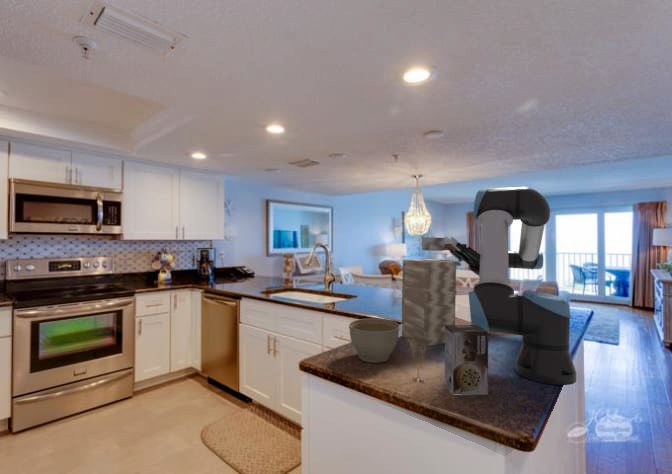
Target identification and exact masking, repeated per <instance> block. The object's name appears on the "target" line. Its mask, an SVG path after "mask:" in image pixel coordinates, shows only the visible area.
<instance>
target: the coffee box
mask: <svg viewBox="0 0 672 474" xmlns="http://www.w3.org/2000/svg"><path fill="white" fill-rule="evenodd" d="M445 385H446V386H445ZM444 386H445V388H446V389H447V388H448V389H449V390H450V391H451V392H450V391H449V390H448V389H447V390H448V391H449V392H450V394H451V393H452V394H469V395H468V396H488V395H489V332H488V331H486V330H484V329H483V328H482V327H480V326H479V325H472V324H455V325H445V343H444ZM452 394H451V395H452Z"/></svg>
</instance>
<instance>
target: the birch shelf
mask: <svg viewBox="0 0 672 474" xmlns="http://www.w3.org/2000/svg"><path fill="white" fill-rule="evenodd" d="M460 265H461V262H460V261H459V260H448V259H438V258H424V259H423V258H422V259H419V258H418V259H402V290H401V291H402V295H401V296H402V297H401V300H402V301H401V337H404V338H406V339H408V340H410V341H412V342H415V343H416V344H417V343H418V344H420V345H422V346H425V347H430V346H436V345H441V344H445V325H456V296H457V295H456V293H457V291H456V288H457V287H456V286H457V285H456V284H457V266H460Z"/></svg>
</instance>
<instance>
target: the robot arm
mask: <svg viewBox="0 0 672 474" xmlns="http://www.w3.org/2000/svg"><path fill="white" fill-rule="evenodd" d="M472 214H473V216H472V217H473V219H474V220H475V221H477V224H478V225H479V226H480V227H481V233H480V234H481V235H480V252H478V251H476V250H474V249H473V248H472V247H470V246H467V245H468V244H467V243H461V242H459V241H458V240H457V239H456V238H455V237H453V236H451V238H448V237H447V236H445V237H444V238H445V243H444V244H451V245H452V246H453V247H454V248H456V249H457V250H448V252H449V253H451V255H452V256H453V257H455V258H456V259H457V261H459V262H460V263H461V262H462V261H463V262H464V263H465V264H466V265H468V266H469V270H470V271H471V272H473V273H474V274H475V275H477V277H478V281H479V282H478V283H476V284H474V286H473V290H472V291H469V292H468V302H469V312H470V320H471V321H470V322H471V325H479V326H480V327H482V328H483V329H484V330H486V331H488V333H496V334H497V333H498V334H505V335H515V336H521V337H522V338H521V339H522V340H521V342H522V343H521V345H520V349H519V351H518V353H517V356H516V358H515V361H514V362H515V363H514V364H515V365H514V369H515V372H516V373H517V374H518V375H520V376H522V377H524V378H526V379H528V380H532V381H535V382H538V383H541V384H546V383H547V385H555V386H570V385H573V384H575V383H576V382H577V371H576V368H575V364H574V362H573V358H572V356H571V353H570V331H571V330H570V327H571V326H570V324H571V323H570V322H571V321H570V318H572V315H571V309H570V308H571V307H570V303H569V301H568V300H567V299H565V298H564V297H562V296H558V295H554V294H550V293H547V292H541V291H534V290H523V292H522V293H521V294H522V295H521V294H519V295H517V294H515V289H514V288H513V286H512V285H510V283H511V282H510V278H509V269H522V270H523V269H524V270H541V269H543V266H544V253H543V252H541V251H540V250H541V246H542V242H543V241H542V239H543V236H544V235H543V234H544V230H545V225H547V224H548V222H549V221H550V218H551V207H550V204H549V203H548V201H547V199H546V198H545V196H544V195H543V194H541V193H540V192H539V191H537V190H536V189H534V188H531V187H527V186H519V187H518V186H517V187H515V186H514V187H513V186H512V187H487V188H481V189H479V190H477V192H476V194H475V199H474V203H473V213H472ZM516 220H517V221H518V220H520V222H521V227H520V239H519V245H518V246H519V247H518V251H517V250H515V251H513V250H509V227H510V226H511V225H512V224H513V222H514V221H516ZM462 244H464V246H463V245H462ZM466 244H467V245H466ZM466 246H467V247H466Z"/></svg>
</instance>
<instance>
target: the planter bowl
mask: <svg viewBox="0 0 672 474" xmlns="http://www.w3.org/2000/svg"><path fill="white" fill-rule="evenodd" d="M400 326H401V325H400V324H399V323H398V322H396V321H392V320H388V319H380V318H362V319H361V318H360V319H356V320H353V321H351V322H349V323H348V328H349V336H350V341H351V344H352V346H353V348H354V350H355V351H356V352H357V354H358V358H359V359H360V360H361V361H363V362H366V363H373V364H378V363H384V362H385V363H386V362H388V360H390V355H391V354H392V353H393V351H394V350H395V347H396V346H397V343H398V339H399V331H400Z"/></svg>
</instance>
